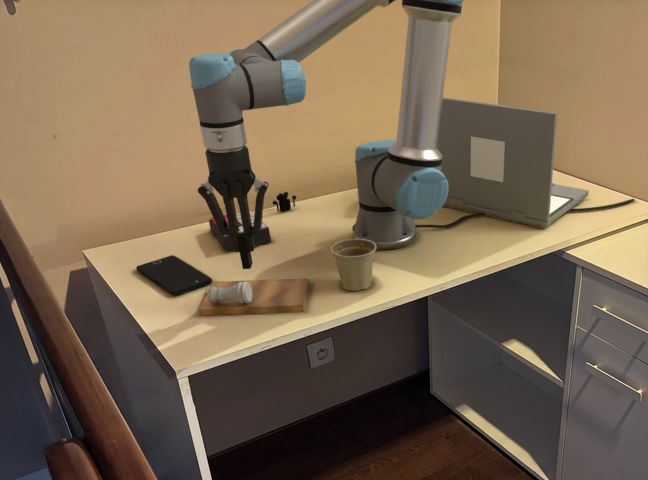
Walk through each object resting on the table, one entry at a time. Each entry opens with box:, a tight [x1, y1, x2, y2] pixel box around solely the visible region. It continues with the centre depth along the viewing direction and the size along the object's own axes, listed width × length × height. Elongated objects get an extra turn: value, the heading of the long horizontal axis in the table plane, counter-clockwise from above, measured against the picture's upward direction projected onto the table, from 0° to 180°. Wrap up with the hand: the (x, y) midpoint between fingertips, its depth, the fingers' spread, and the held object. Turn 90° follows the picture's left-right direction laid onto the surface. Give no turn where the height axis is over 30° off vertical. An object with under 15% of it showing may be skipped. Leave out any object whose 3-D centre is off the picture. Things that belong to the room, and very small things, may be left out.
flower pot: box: [330, 238, 377, 292], centre depth 143 cm, size 9×9×9 cm
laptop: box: [437, 96, 590, 229], centre depth 180 cm, size 35×26×28 cm
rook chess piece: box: [206, 280, 252, 304], centre depth 134 cm, size 4×4×8 cm
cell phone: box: [135, 254, 213, 296], centre depth 148 cm, size 9×18×1 cm, turn 46°
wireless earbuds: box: [272, 191, 297, 213], centre depth 181 cm, size 7×2×5 cm, turn 131°
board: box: [199, 277, 311, 316], centre depth 139 cm, size 20×12×2 cm, turn 94°
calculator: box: [208, 210, 272, 252], centre depth 167 cm, size 11×4×15 cm
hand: (247, 266), depth 136 cm, fingers closed
